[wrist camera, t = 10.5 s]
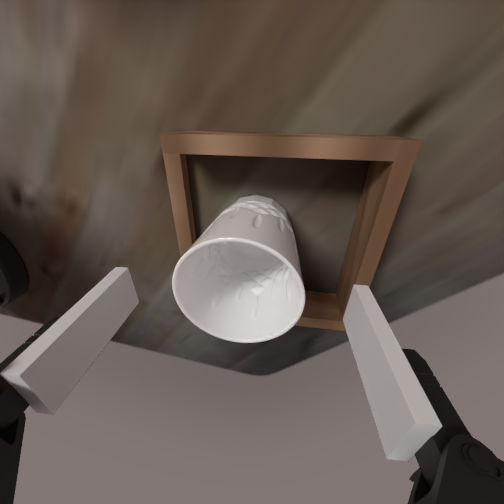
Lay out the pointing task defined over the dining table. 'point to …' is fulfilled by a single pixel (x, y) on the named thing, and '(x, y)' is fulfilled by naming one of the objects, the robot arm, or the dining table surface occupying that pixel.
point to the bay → (317, 147)
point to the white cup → (243, 274)
